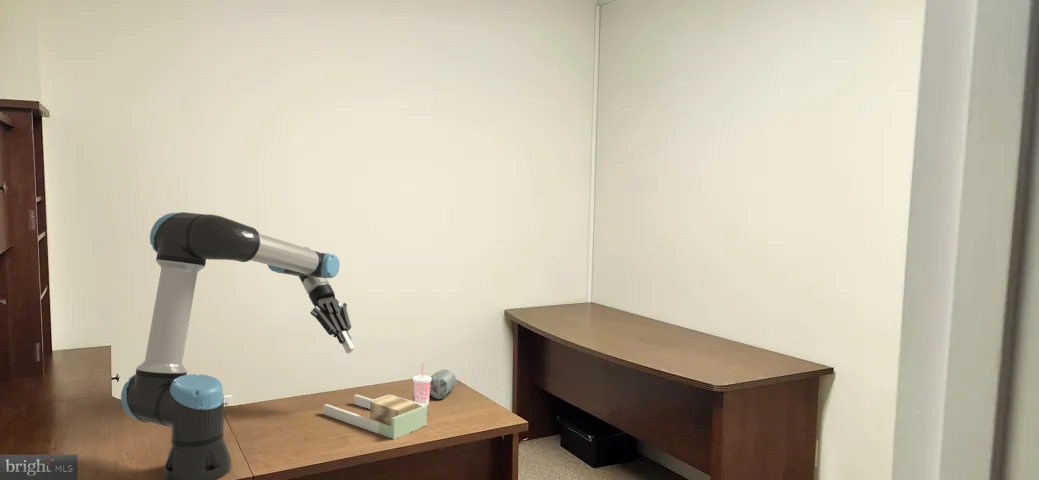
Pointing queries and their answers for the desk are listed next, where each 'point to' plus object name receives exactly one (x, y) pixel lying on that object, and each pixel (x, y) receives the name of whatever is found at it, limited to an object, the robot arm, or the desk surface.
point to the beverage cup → (422, 388)
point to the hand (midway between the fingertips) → (350, 350)
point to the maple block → (389, 408)
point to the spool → (442, 383)
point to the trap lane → (398, 423)
